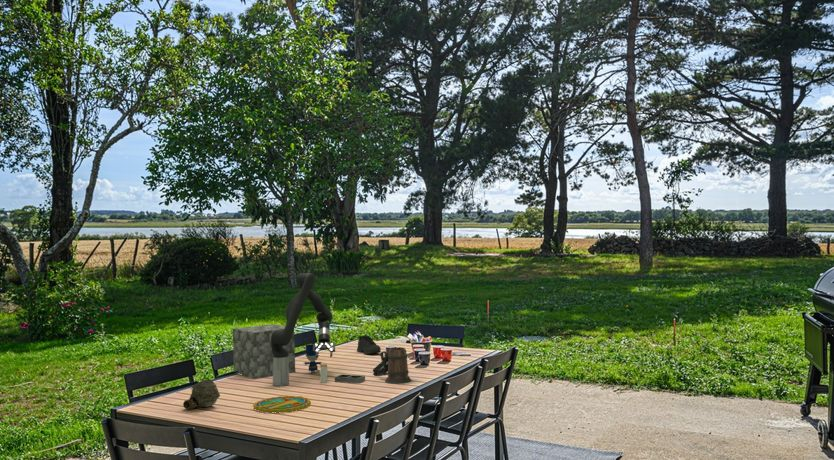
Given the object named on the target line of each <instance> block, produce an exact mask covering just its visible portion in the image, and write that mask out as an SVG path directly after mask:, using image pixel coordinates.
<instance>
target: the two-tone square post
mask: <svg viewBox="0 0 834 460" xmlns="http://www.w3.org/2000/svg"><path fill="white" fill-rule="evenodd" d="M319 367H320V368H319V369H320V383H321V384H325V383H326V384H327V383H328V363H326V362H325V363H324V362H323V363H321V364H320V365H319Z"/></svg>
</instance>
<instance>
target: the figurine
mask: <svg viewBox="0 0 834 460" xmlns="http://www.w3.org/2000/svg"><path fill="white" fill-rule="evenodd" d="M313 344H314V343H312V344H311V343H310V344H309V343H308V344H307V343H306V345H305V357H306V359H307V360H308V361H305V362H303V364H304V366H307V365H308V372H311V374H315V373H316V372H317V371H318V370H319V368H318V365H319V366H320V364H323V362H321V361H317V360H318V358H319V357H320V355H319V353H320V351H319V352H318V358H317V357H316V353H313ZM317 348H318V346H317V347H316V348H315V350H316V349H317Z"/></svg>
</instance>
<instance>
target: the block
mask: <svg viewBox="0 0 834 460" xmlns="http://www.w3.org/2000/svg"><path fill="white" fill-rule="evenodd" d="M285 326H286V325H280V324H276V323H275V324H273V323H270V324H262V325H253V326H245V327H237V328H232V355H233V357H232V358H233V360H232V361H233V362H232V363H233V373H234V372H236V371H238V372H237V373H240V374H242V375H244V376H243V377H246V378H249V379H252V380H258V379H263V378H269V377H273V353H272V347H271V336H272V333H273V332H274V331H276V330H281V331H283V330H284V328H285ZM295 342H296V341H295V330H294V331H293V334H292V338H291V340H290V342H289V344H288V345H286V346H283V348H284V349H285V350H286V351H288V360H289V374H292V373H296V351H295V350H296V349H295V347H296V345H295ZM242 375H241V376H242Z"/></svg>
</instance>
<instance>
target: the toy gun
mask: <svg viewBox="0 0 834 460" xmlns="http://www.w3.org/2000/svg"><path fill="white" fill-rule="evenodd" d="M387 353H388V354H389V352H387ZM384 359H385V356H384ZM385 361H386V372H385V374H387V373H388V358H387V359H385ZM380 368H381V369H382V372H381V371H380V372H381V374H382V373H383V369H384V365H383V361H382V360H381V362H380V363H378V364H377V365H376V366H375V367H374V368H373V369H372V372H373V373H372V375H374V376H379V375H378V373H377V370H378V369H380Z"/></svg>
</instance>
